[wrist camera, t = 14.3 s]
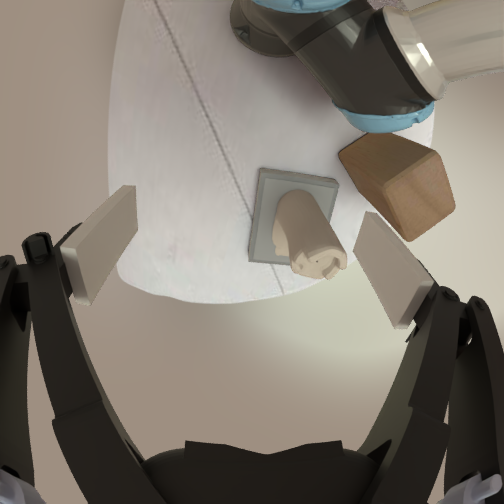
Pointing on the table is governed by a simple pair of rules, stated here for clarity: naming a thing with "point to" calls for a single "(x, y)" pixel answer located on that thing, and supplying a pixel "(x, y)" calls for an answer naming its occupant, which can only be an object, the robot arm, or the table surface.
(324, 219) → the candle
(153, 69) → the table surface
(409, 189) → the wooden block
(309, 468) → the robot arm
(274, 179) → the grey flat block
